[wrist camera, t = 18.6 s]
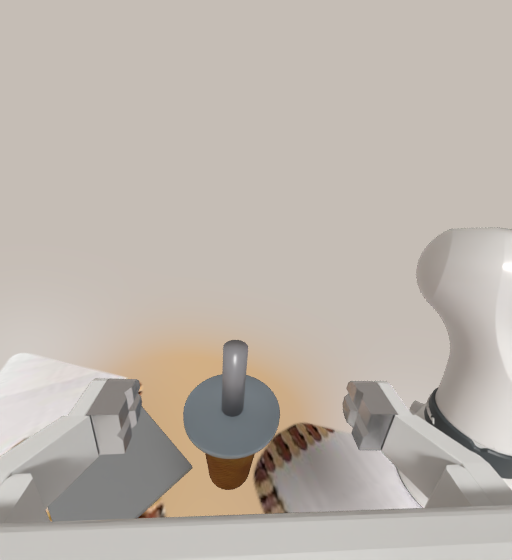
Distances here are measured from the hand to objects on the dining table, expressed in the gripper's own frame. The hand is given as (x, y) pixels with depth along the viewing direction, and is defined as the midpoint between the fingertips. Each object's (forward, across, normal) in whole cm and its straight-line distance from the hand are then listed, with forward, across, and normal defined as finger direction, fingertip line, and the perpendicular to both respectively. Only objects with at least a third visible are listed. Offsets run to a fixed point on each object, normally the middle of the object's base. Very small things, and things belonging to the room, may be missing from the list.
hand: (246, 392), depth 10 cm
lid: (+19, 0, +23) cm, 30 cm away
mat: (+19, +17, +35) cm, 43 cm away
